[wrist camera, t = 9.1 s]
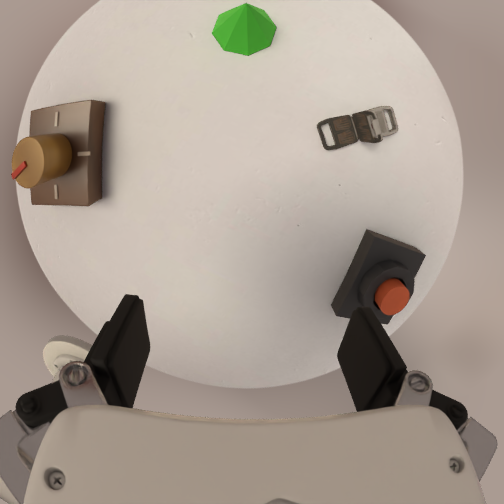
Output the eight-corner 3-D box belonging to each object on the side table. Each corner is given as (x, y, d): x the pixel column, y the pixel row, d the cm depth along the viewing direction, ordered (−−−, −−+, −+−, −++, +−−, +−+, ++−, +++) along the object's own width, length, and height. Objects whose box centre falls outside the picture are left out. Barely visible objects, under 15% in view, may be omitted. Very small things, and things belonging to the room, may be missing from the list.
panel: (104, 198, 25) (90, 206, 22) (44, 197, 24) (29, 205, 21) (108, 101, 21) (93, 99, 18) (45, 111, 20) (28, 111, 17)
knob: (62, 124, 19) (31, 126, 14) (78, 162, 20) (49, 171, 16) (34, 149, 19) (4, 156, 15) (50, 185, 21) (20, 198, 16)
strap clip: (388, 104, 22) (410, 102, 18) (396, 132, 23) (419, 134, 20) (314, 122, 23) (328, 120, 19) (324, 152, 24) (339, 155, 20)
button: (392, 308, 28) (399, 317, 26) (368, 303, 27) (375, 312, 26) (407, 281, 27) (415, 289, 25) (384, 275, 26) (391, 283, 24)
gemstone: (215, 59, 20) (208, 39, 15) (208, 9, 18) (202, -19, 12) (280, 53, 20) (292, 32, 15) (272, 3, 18) (281, -25, 12)
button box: (381, 314, 33) (393, 333, 29) (330, 305, 32) (340, 326, 28) (416, 247, 29) (434, 262, 25) (366, 229, 28) (383, 243, 24)
